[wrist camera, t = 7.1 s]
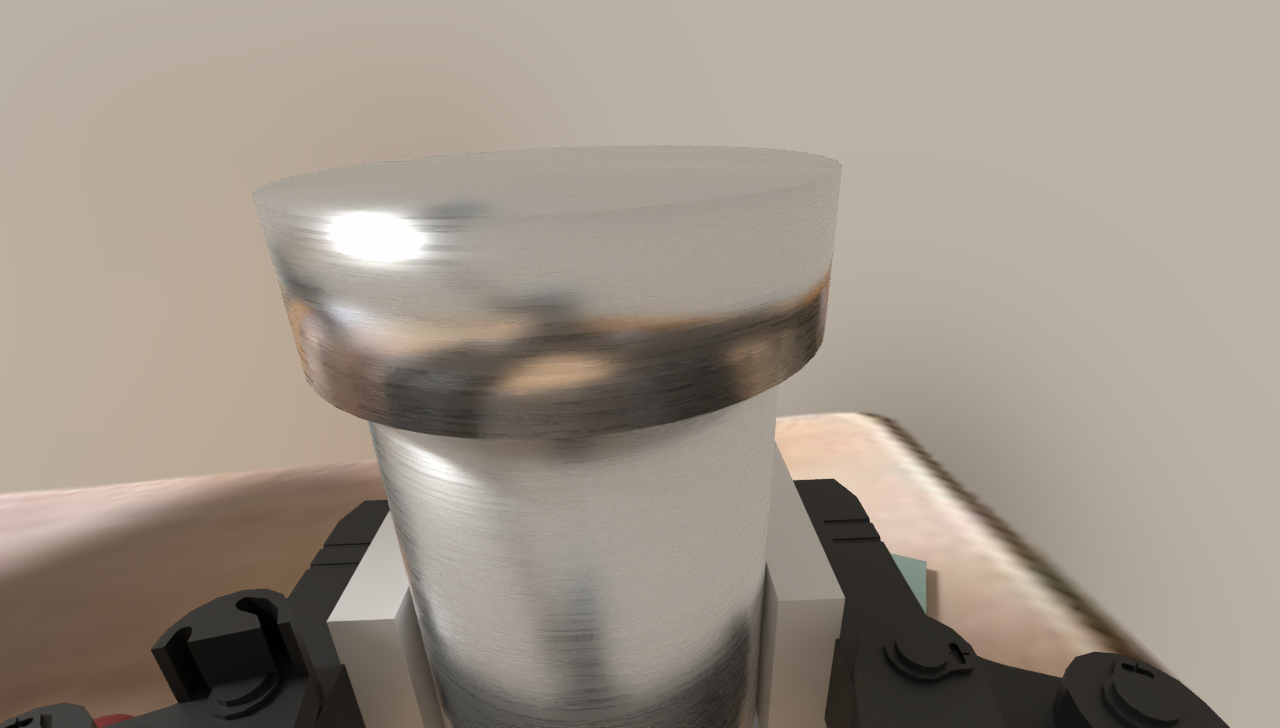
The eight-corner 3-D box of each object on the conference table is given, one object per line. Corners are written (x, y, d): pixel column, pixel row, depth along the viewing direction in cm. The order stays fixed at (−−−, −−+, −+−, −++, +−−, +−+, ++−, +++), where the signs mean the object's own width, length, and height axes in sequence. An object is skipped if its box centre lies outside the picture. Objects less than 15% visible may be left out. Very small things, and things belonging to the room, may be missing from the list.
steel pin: (434, 1051, 11) (96, 199, 5) (575, 774, 15) (499, 145, 9) (711, 1251, 9) (772, 237, 3) (781, 866, 13) (865, 145, 7)
